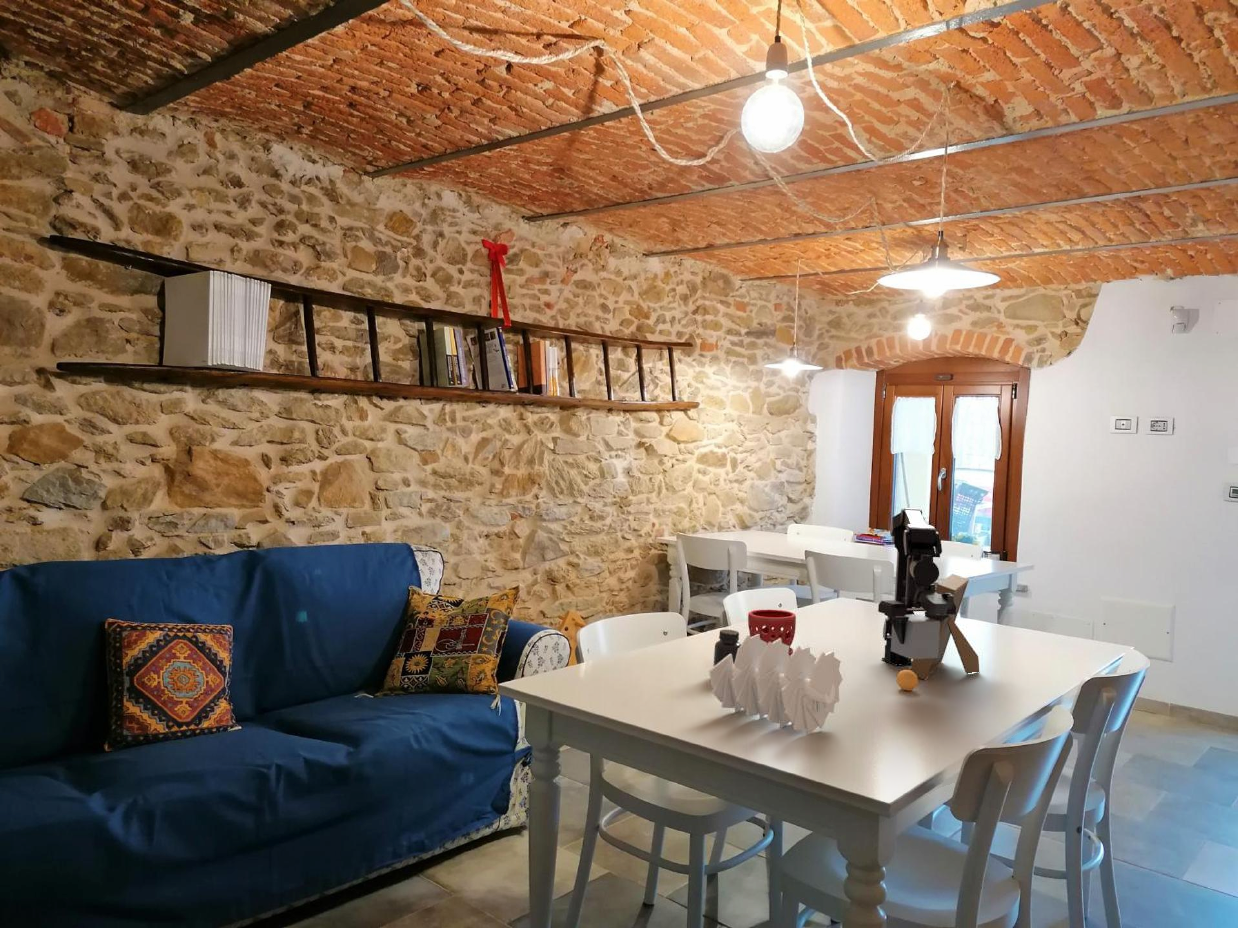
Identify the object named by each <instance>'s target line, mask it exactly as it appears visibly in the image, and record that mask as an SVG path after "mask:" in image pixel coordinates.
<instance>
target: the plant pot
mask: <svg viewBox="0 0 1238 928" xmlns="http://www.w3.org/2000/svg"><path fill="white" fill-rule="evenodd" d="M747 614H748V615H747V616H748V617H747V623H748V624H747V626H748V631H749V636H750V637H752V636H755V635H757V634H760V639H761V640H763V641H764V642H766V643H767V645H768V643H769V642H771V643H773V642H774V641H776V640H778V639H779V638H781V639H782V643H783V644H785V645H788V646H789V651H788V654H789V656H790V657H791V655H792V654H793V653H794V649H793V648H792V647H791V646H792V644H793V641H794V638H795V634H796V628H797V627H796V626H797V625H796V624H797V616H796V614H795V613H794V612H791V611H789V610H788V611H787V610H781V609H780V610H779V609H755V610H751V611H749V612H748V613H747Z"/></svg>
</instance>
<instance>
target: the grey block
mask: <svg viewBox="0 0 1238 928" xmlns="http://www.w3.org/2000/svg"><path fill="white" fill-rule="evenodd" d="M906 617H909V619H908V621H907V622H906V628H905V641H904V644H901V643H900V642H899V640H898V637H897V635H896V632H895V630H894V627H893V625H892V637H891V651H892V652H894V653H897V654H899V655H902V656H904V657H907V658H909V659H911V660H913V659H926V658H938V650H939V633H940V621H938V620H935V619H931V618H928V617H925V615H921V614H917V613H916V614H915V615H906Z"/></svg>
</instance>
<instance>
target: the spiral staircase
mask: <svg viewBox="0 0 1238 928" xmlns="http://www.w3.org/2000/svg"><path fill="white" fill-rule="evenodd" d="M740 644H741V646H740V647H739V648H738V650H737V655H736V659H735V663H733V658H732V654H729V655H728V656H726V657H725V658H724V659H723V660H721V661H720V662H719V663H718V664H716V665H715V666H714V665H713V666H714V667H713V666H712V667H711V668H710V669H709V670H708V672H709V678H710V683H711V687H712V688H713V689H712V691H711V692H712V694H713V695H714V696H715V698H716V699H717V700H718V701H719V702H720V703H721V708H725V709H734V712H735V713H738V712H740V710H741V709H743V710H744V711H745V716H748V717H749V716H759V719H761V720H762V719H763V718H764V717H765V716H766V717H767V718H766V721H768V722H772V723H775V724H779V728H780V727H781V729H782V728H784V727H785V726H787V724H789V723H791V724H792V725H793V730H794V731H806V735H807V736H810V735H811V734H812V733H813V732H814V731H815V730H816V729H817V728H818V727H819V729H823V728H824V725H825V722H826V720H827V718H828V715H829V713H832V714H834V711H835V705H836V704H837V703H839V702H840V688H839V687H840V685H841V683H842V682H843V677H842V674H841V672H840V667H841V666H840V665H841V662H842V661H841V660H839V659H838V658H837V657H835V652H834V651H829V652H826V653H825V652H821V653H820V655H819V657H818V659H817V657H816V656H814V655H813V654H812V653H811V646H806V647H803V648H801V646H799V645H798V646H797V647H796V649H795V650H793V653H792V655H791V656H789V654H788V651H789V646H788V645H785V644H783V643H782V639H781V638H779V639H778V640H776V641H774V642H773V643H771V642H769V643H768V645H767V643H766V642H764V641H763V640H761V639H760V634H757V635H755V636H752V637H750V635H746V636H745V639H744V640H743V642H741V643H740Z"/></svg>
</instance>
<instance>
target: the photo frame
mask: <svg viewBox="0 0 1238 928" xmlns="http://www.w3.org/2000/svg"><path fill="white" fill-rule="evenodd" d="M968 584H969V578H965V577H962V576H960V575H957V574H954V573H952V574H950V575H949V576H947V577H946V578H945V579H943V580H941V581H940V582H938V583H937V585H936V586H935V587H936V593H937V594H942V595H943V594H944V593H951V594H952V595H953V596H954V603H955V605H956V607H957V609H956V614H953V615H949V616H950V617H949V618H946V619H945V620H943V621H942V622H941V624H940V633H939V650H938V658H926V659H912V660H911V661H912V664H911V665H910V667H909V670H911V671H913V672H914V673H915V674H916V676H917V678H918V679H921V680H923V679H926V678H927V679H928V678H929V677H930V676H931V675H932V674H933V673H934V671H936V670H937V668H938V667H939V666H940V665H941V664H942V662H943V660H944V656H945V653H946V651H947V646H948V644H949V640H950V638H951V636H952V640H953V642H954V644H955V647H956V650H957V653H958V656H959V658H960V659H959V660H960V661H961V663H962V667H963V669H964V671H965V674H966V673H967V674H968V673H972V672H979V673H980V662H979V659H980V658H979V655H978V654H977V653H976V651H975V650H974V648H973V647H972V645H971V644H970V642H969V640H967V638H966V636H965V635H964V633H962V631H961V630H960V628H959V627H958V625H957V624H956V619H957V617H958V614H959V611H960V608H961V605H962V601H963V599H964V596H965V593H966V590H967V586H968ZM946 615H947V614H946ZM940 663H941V664H940ZM939 664H940V665H939ZM938 665H939V666H938ZM937 666H938V667H937ZM936 667H937V668H936ZM931 673H932V674H931ZM930 674H931V675H930ZM929 675H930V676H929ZM928 676H929V677H928ZM927 679H926V680H927Z"/></svg>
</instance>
